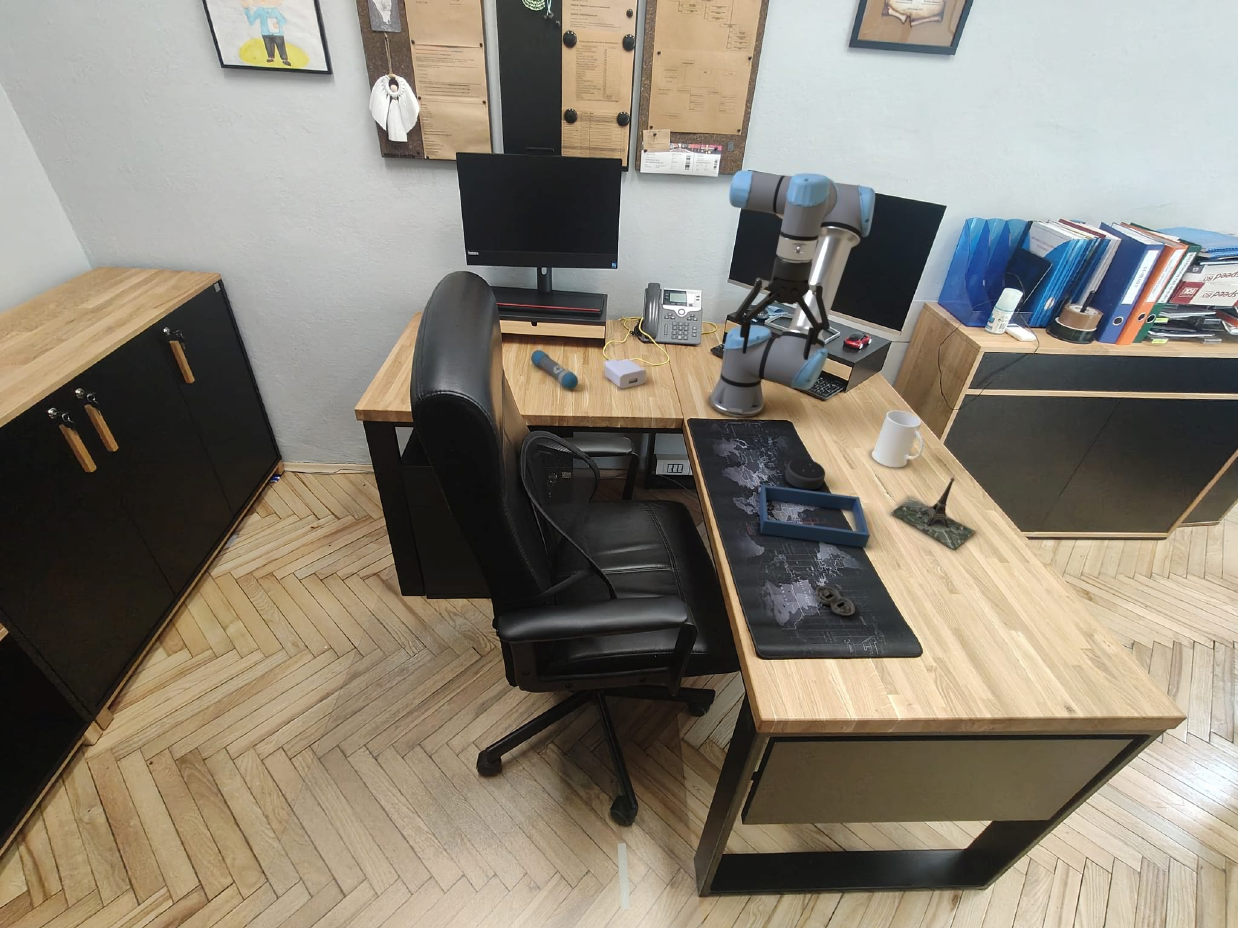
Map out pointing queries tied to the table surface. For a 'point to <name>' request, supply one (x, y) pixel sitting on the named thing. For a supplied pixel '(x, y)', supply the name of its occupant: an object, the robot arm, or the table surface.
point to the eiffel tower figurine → (934, 520)
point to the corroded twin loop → (835, 600)
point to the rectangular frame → (811, 531)
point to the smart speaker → (805, 474)
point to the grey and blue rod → (554, 369)
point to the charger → (624, 373)
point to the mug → (897, 439)
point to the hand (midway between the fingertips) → (774, 354)
